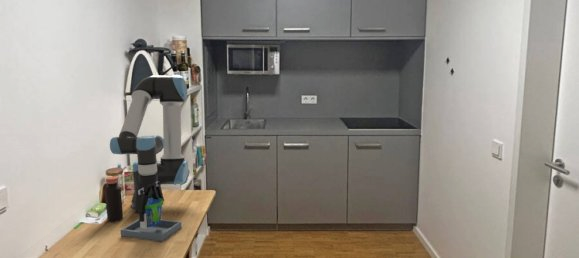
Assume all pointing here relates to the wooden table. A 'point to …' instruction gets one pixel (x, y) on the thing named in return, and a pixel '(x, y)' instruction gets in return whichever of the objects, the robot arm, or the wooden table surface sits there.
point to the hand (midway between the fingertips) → (151, 223)
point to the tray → (152, 230)
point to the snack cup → (153, 211)
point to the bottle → (113, 200)
